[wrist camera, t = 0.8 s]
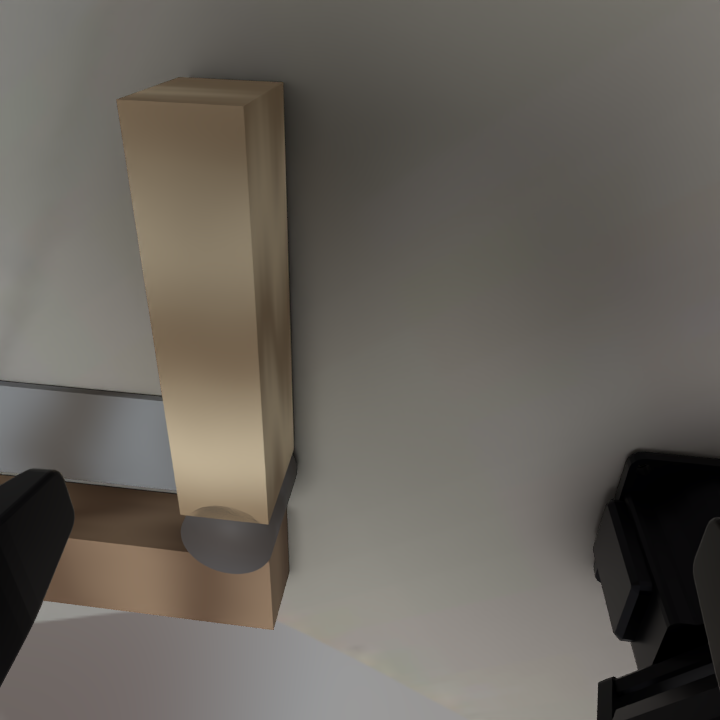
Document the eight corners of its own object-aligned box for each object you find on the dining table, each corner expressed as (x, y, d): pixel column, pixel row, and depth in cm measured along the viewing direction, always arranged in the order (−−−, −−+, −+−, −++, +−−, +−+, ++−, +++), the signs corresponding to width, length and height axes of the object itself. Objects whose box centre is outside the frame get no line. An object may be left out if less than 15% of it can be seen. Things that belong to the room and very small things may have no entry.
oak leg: (297, 500, 26) (274, 579, 23) (220, 491, 26) (186, 568, 23) (286, 82, 18) (248, 106, 15) (175, 77, 18) (112, 99, 15)
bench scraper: (282, 408, 24) (262, 458, 22) (289, 572, 29) (273, 629, 26) (-156, 366, 26) (-222, 408, 23) (-84, 527, 31) (-132, 578, 28)
